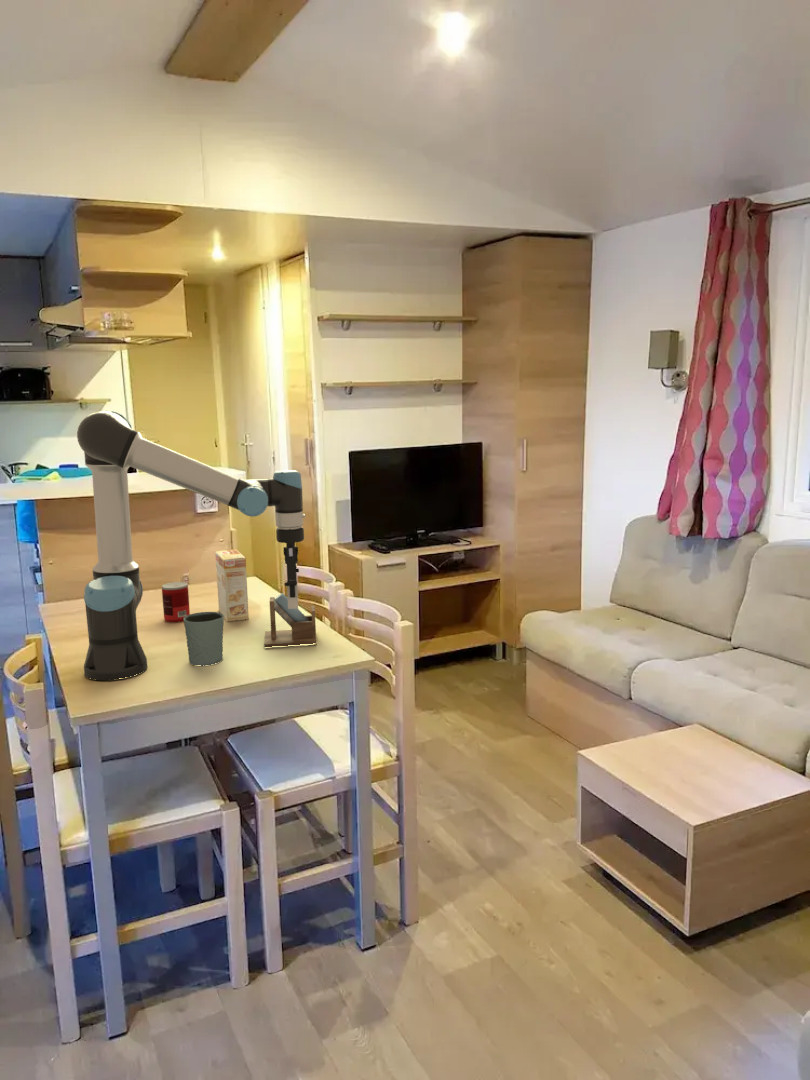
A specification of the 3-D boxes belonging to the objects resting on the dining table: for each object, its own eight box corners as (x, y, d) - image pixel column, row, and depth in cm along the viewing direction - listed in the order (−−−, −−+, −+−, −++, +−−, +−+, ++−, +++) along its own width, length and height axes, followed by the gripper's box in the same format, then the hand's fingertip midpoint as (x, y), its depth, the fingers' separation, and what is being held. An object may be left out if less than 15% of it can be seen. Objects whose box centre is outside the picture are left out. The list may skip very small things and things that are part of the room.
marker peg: (312, 624, 227) (283, 593, 224) (304, 632, 226) (275, 601, 223) (311, 622, 230) (282, 592, 227) (302, 630, 229) (273, 600, 227)
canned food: (193, 615, 254) (191, 581, 252) (184, 623, 246) (182, 588, 244) (170, 615, 255) (167, 581, 253) (160, 622, 247) (157, 587, 245)
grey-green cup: (180, 666, 208) (177, 621, 206) (195, 653, 218) (192, 610, 216) (218, 667, 207) (215, 622, 205) (231, 654, 217) (229, 611, 214)
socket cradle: (316, 645, 223) (314, 602, 221) (264, 648, 221) (262, 605, 219) (315, 632, 235) (313, 591, 232) (265, 635, 233) (263, 594, 231)
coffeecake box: (249, 619, 249) (246, 557, 246) (226, 622, 247) (222, 559, 243) (240, 607, 263) (236, 548, 259) (218, 610, 260) (214, 550, 257)
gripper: (304, 534, 210) (307, 613, 214) (302, 519, 235) (305, 590, 239) (275, 535, 209) (278, 614, 213) (276, 520, 234) (280, 591, 238)
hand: (293, 601), depth 226 cm, fingers open, 13 cm apart
